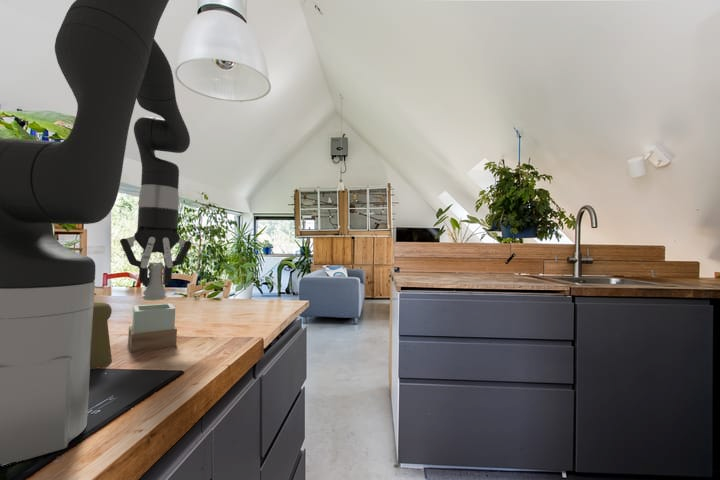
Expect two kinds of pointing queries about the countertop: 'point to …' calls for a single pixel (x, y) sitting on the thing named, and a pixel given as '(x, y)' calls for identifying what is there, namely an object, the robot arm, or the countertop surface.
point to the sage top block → (153, 318)
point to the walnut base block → (151, 339)
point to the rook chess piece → (155, 283)
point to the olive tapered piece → (100, 336)
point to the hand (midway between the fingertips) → (155, 284)
